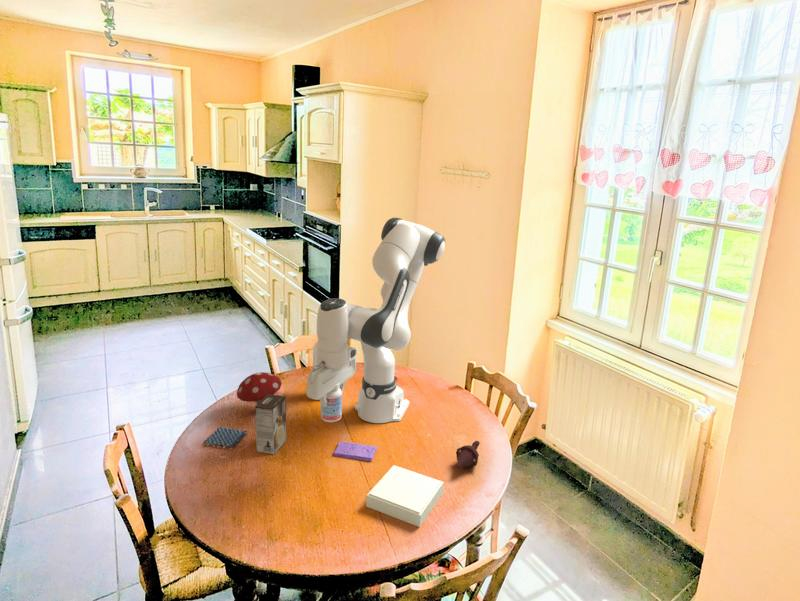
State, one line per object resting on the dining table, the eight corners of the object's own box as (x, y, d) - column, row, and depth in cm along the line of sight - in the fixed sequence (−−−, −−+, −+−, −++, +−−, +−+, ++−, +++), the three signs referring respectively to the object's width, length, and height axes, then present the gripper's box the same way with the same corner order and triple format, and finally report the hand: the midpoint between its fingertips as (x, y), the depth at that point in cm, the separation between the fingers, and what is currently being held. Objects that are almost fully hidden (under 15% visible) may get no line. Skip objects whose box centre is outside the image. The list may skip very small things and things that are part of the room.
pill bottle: (322, 424, 145) (322, 388, 142) (319, 413, 151) (319, 378, 148) (343, 421, 147) (343, 386, 144) (340, 411, 152) (340, 377, 149)
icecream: (472, 464, 149) (490, 445, 162) (451, 450, 152) (470, 432, 165) (464, 482, 151) (482, 462, 164) (443, 468, 154) (462, 449, 167)
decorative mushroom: (271, 425, 176) (270, 386, 172) (228, 419, 178) (226, 380, 174) (289, 404, 191) (288, 367, 187) (249, 398, 193) (248, 362, 189)
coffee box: (268, 436, 169) (267, 392, 164) (286, 439, 168) (286, 395, 163) (255, 451, 160) (254, 405, 156) (274, 455, 159) (273, 409, 155)
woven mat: (218, 430, 172) (218, 425, 171) (247, 435, 170) (247, 429, 170) (201, 447, 162) (201, 441, 161) (232, 452, 160) (232, 446, 160)
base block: (393, 475, 152) (393, 463, 151) (442, 492, 146) (443, 480, 144) (366, 506, 138) (366, 493, 137) (419, 527, 132) (420, 514, 131)
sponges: (371, 463, 159) (371, 458, 158) (333, 457, 161) (333, 451, 160) (377, 451, 165) (377, 445, 165) (339, 445, 167) (339, 440, 167)
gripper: (320, 371, 133) (319, 419, 137) (360, 347, 151) (359, 389, 154) (300, 366, 136) (300, 412, 139) (342, 343, 153) (341, 384, 157)
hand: (331, 400), depth 147 cm, fingers closed on pill bottle, 6 cm apart
